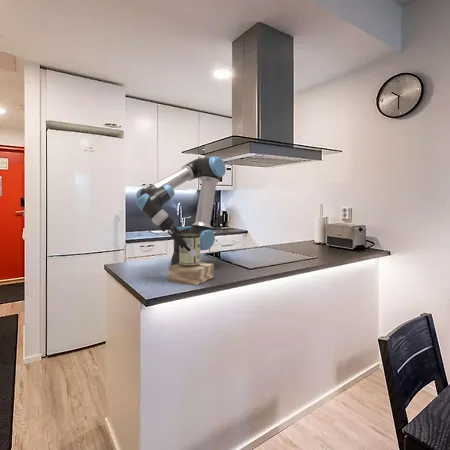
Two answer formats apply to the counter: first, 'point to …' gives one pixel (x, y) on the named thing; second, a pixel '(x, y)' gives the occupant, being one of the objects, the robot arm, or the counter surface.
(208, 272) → the birch block
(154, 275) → the counter surface
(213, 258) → the counter surface
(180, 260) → the coffee can
